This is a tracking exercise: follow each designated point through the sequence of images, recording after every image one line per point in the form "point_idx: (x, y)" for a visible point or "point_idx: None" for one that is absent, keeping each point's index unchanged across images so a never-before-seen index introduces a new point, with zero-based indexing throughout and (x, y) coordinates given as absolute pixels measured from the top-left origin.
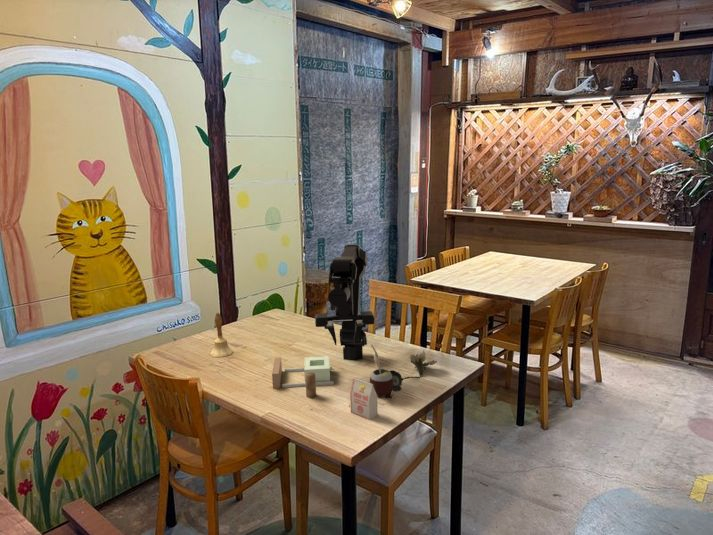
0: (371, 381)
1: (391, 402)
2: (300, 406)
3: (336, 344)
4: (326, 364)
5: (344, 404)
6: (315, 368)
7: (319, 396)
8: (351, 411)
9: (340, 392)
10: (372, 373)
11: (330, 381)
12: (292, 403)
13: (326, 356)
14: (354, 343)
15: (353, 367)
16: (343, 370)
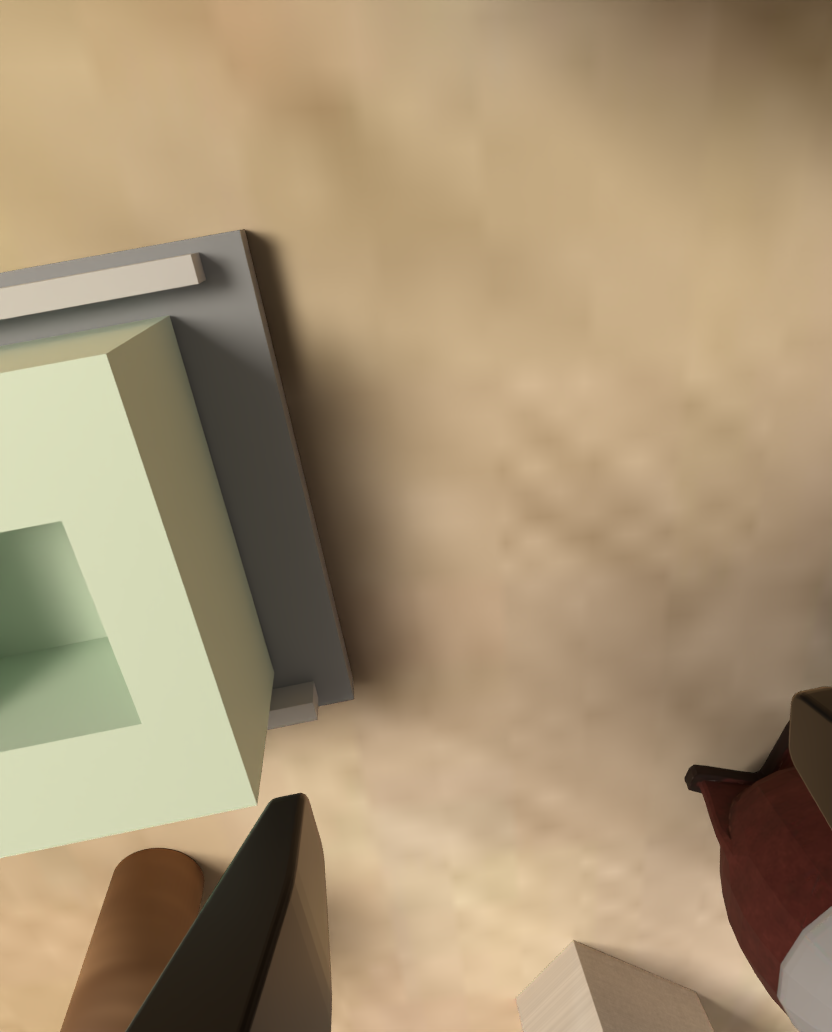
0: (767, 988)
1: None
2: None
3: (324, 870)
4: (171, 698)
5: (459, 916)
6: (44, 827)
7: (219, 836)
8: (523, 1012)
9: (402, 753)
10: (828, 1022)
11: (281, 714)
12: (16, 956)
13: (59, 366)
14: (801, 772)
15: (499, 71)
16: (360, 197)
